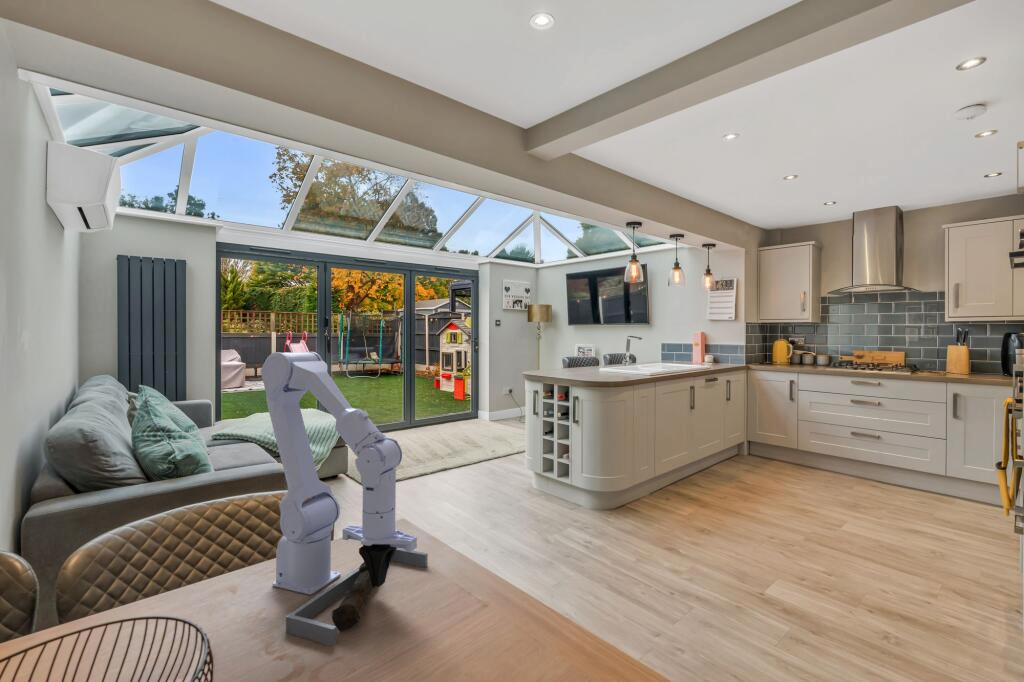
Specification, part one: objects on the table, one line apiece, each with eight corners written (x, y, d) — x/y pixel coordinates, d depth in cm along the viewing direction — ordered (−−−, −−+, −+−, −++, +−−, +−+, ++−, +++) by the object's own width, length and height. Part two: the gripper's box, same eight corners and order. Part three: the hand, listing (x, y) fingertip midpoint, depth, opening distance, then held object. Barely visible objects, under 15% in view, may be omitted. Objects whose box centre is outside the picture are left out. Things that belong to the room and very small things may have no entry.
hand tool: (359, 627, 74) (350, 598, 74) (335, 634, 74) (326, 606, 74) (393, 570, 93) (386, 547, 93) (374, 576, 93) (367, 553, 93)
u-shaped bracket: (285, 632, 75) (285, 616, 75) (389, 558, 100) (389, 546, 100) (332, 646, 71) (332, 629, 71) (427, 565, 97) (427, 553, 97)
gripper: (330, 510, 84) (330, 587, 84) (400, 521, 79) (400, 603, 79) (357, 498, 90) (356, 569, 90) (423, 507, 85) (422, 583, 85)
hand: (378, 584), depth 85 cm, fingers closed
